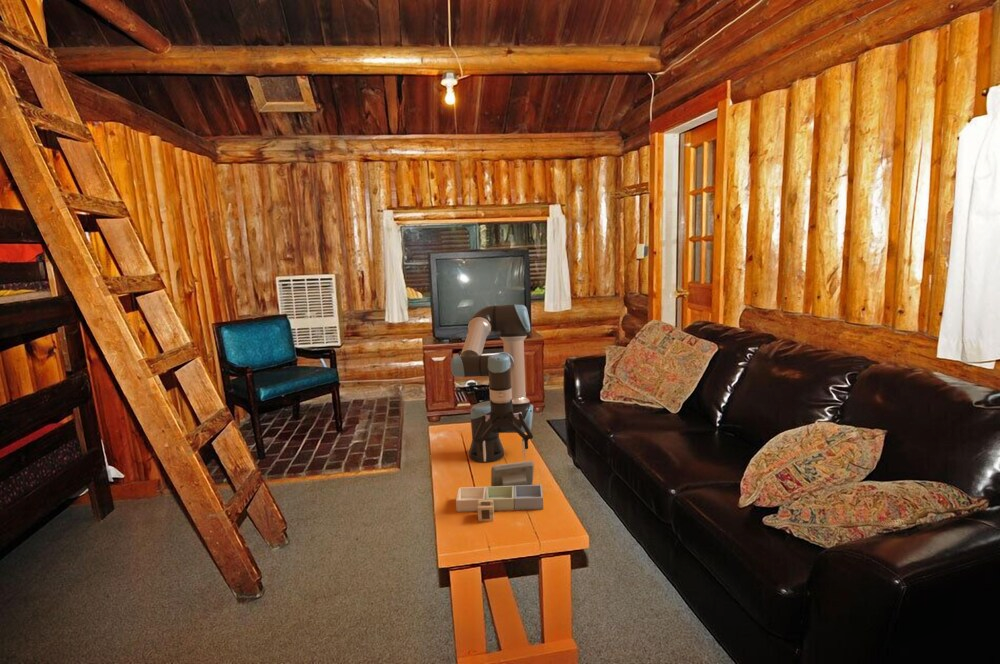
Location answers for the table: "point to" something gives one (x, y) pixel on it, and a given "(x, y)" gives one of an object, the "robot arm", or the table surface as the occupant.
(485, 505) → the letter cube
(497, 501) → the box
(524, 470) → the digital clock
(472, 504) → the caddy cream
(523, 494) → the box
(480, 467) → the table surface
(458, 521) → the table surface
